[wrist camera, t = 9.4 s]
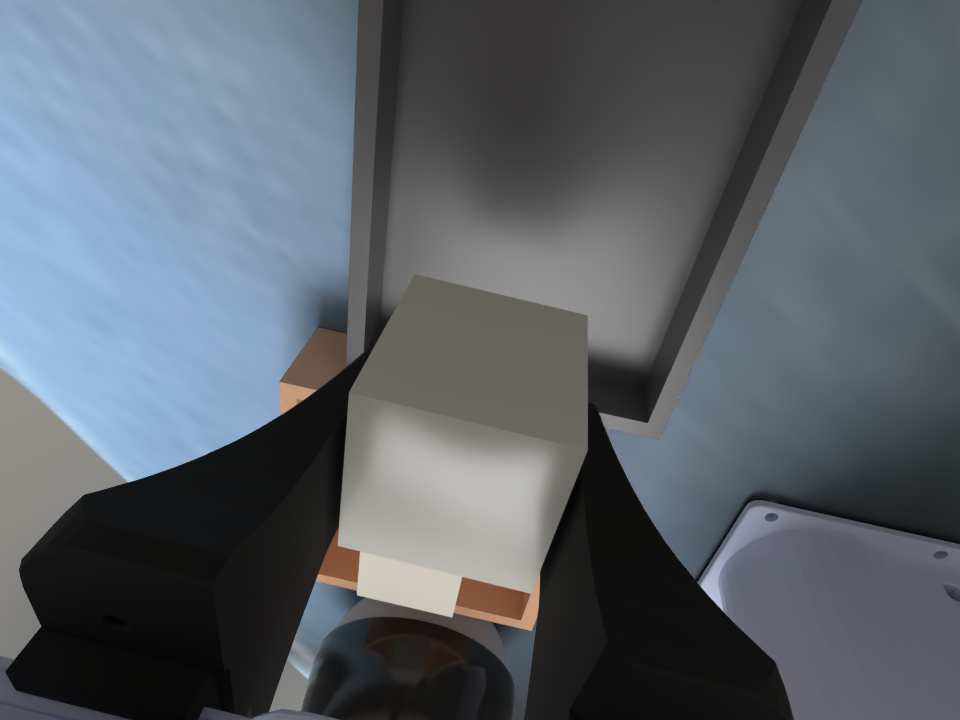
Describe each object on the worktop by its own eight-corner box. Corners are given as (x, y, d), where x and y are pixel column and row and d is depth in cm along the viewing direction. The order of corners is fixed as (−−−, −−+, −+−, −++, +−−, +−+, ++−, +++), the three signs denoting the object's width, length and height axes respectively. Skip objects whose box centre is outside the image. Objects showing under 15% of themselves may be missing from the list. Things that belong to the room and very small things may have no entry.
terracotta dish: (599, 388, 23) (600, 453, 20) (537, 563, 30) (531, 630, 27) (317, 327, 23) (279, 381, 20) (317, 513, 30) (288, 574, 27)
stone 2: (587, 314, 13) (587, 450, 10) (544, 444, 16) (530, 593, 12) (414, 273, 13) (349, 392, 10) (396, 408, 16) (337, 545, 12)
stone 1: (484, 470, 26) (466, 557, 22) (469, 529, 28) (452, 617, 24) (393, 450, 26) (361, 533, 22) (386, 510, 28) (356, 595, 24)
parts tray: (842, -51, 15) (885, -51, 12) (652, 394, 23) (659, 439, 21) (396, -139, 15) (364, -152, 13) (367, 331, 23) (345, 370, 21)
